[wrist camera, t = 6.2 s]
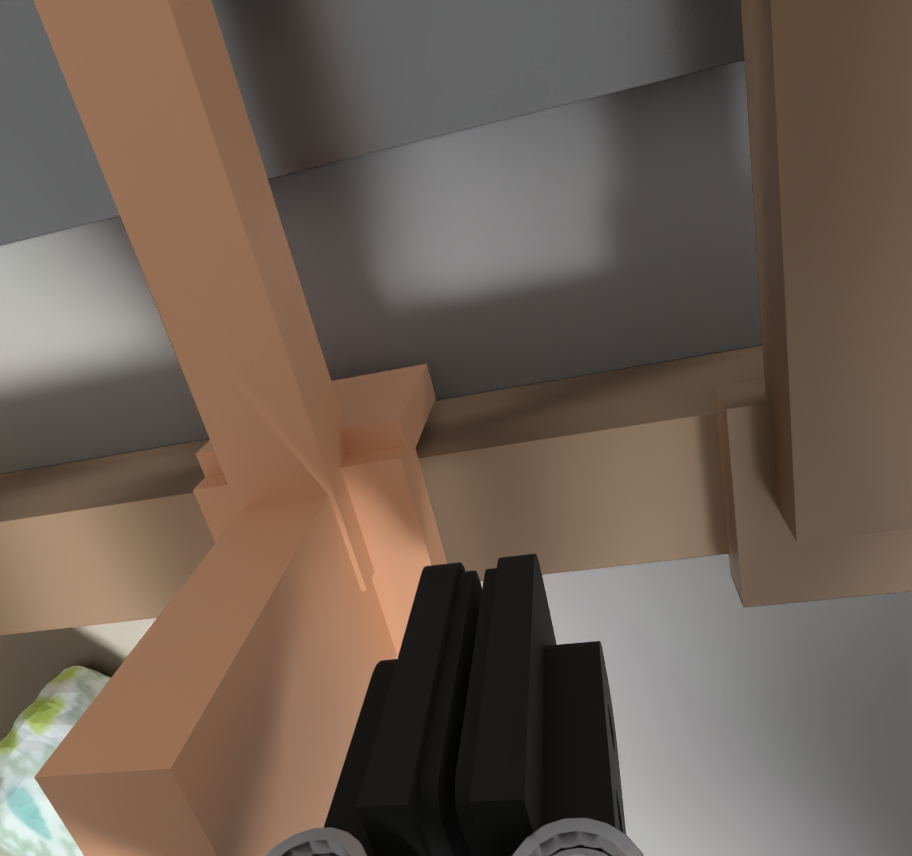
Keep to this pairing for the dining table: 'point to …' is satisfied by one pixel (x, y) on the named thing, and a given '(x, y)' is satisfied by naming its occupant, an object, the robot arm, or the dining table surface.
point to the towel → (25, 752)
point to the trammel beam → (630, 394)
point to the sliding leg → (236, 475)
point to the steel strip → (355, 81)
